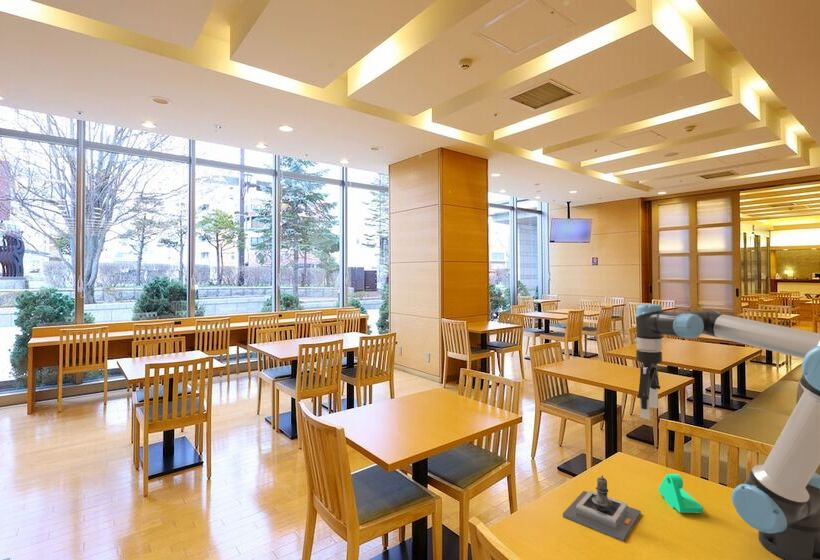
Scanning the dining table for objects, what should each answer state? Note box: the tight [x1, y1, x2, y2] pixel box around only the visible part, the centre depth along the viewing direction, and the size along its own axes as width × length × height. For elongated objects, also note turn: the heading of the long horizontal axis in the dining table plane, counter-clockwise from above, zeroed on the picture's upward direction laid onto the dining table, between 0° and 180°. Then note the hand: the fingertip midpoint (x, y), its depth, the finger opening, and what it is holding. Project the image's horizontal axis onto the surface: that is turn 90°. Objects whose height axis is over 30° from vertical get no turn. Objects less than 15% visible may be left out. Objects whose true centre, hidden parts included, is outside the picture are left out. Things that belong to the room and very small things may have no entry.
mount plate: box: [562, 490, 642, 542], centre depth 132 cm, size 18×18×4 cm
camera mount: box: [658, 473, 704, 514], centre depth 138 cm, size 12×8×10 cm, turn 178°
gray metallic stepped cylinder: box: [592, 475, 612, 516], centre depth 132 cm, size 6×6×12 cm
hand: (649, 412), depth 140 cm, fingers open, 13 cm apart
